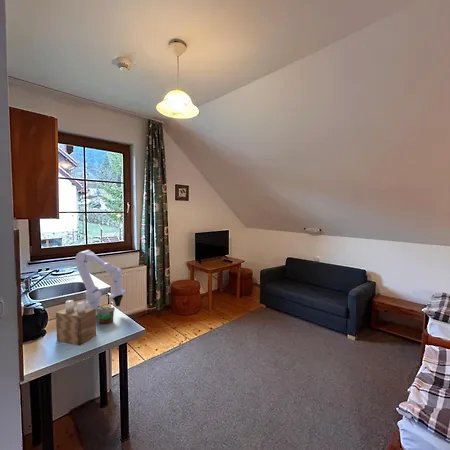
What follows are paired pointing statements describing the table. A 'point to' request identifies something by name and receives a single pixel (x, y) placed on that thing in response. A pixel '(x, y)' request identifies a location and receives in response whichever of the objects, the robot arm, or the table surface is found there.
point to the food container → (105, 314)
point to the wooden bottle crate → (76, 326)
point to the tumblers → (79, 306)
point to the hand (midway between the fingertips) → (117, 306)
